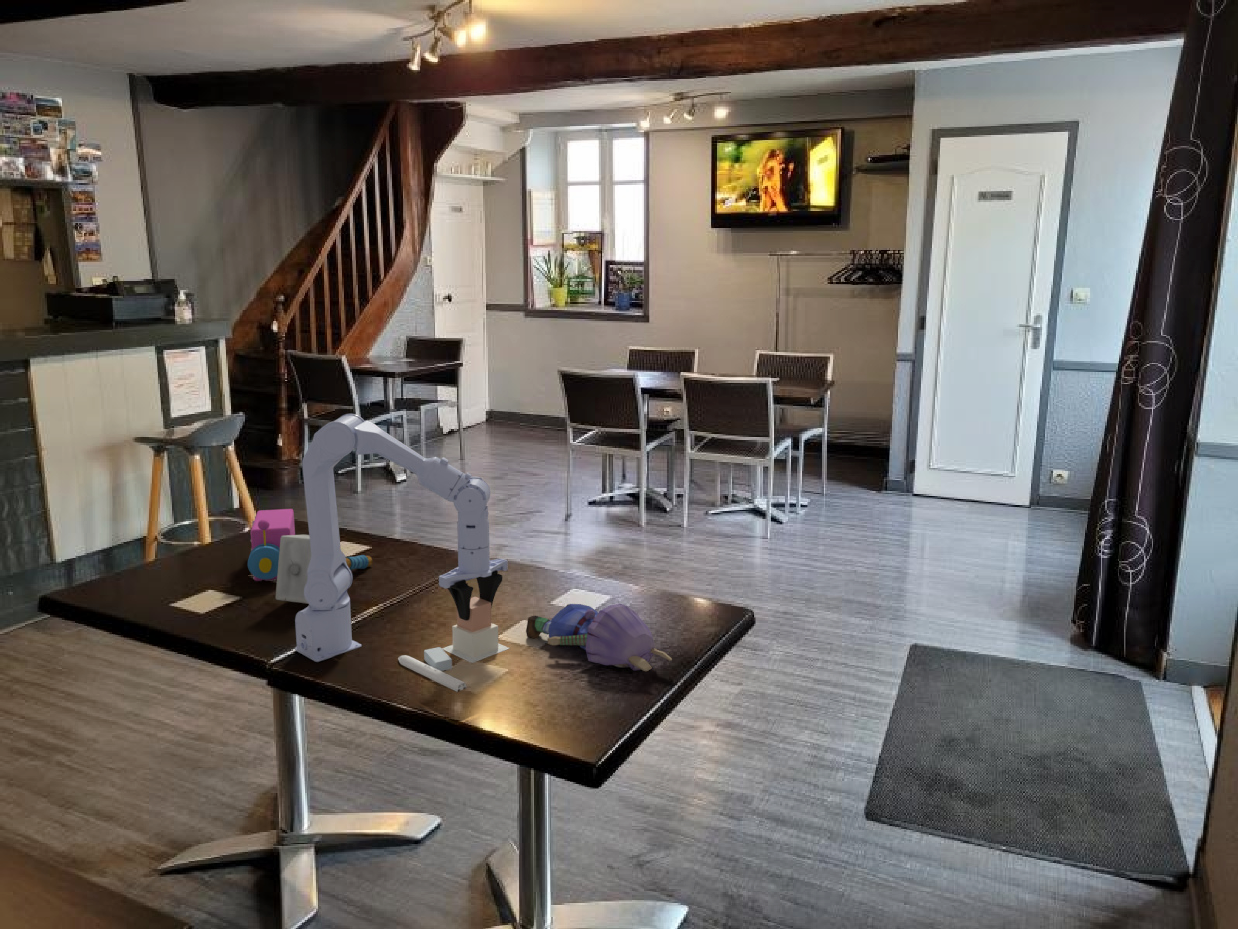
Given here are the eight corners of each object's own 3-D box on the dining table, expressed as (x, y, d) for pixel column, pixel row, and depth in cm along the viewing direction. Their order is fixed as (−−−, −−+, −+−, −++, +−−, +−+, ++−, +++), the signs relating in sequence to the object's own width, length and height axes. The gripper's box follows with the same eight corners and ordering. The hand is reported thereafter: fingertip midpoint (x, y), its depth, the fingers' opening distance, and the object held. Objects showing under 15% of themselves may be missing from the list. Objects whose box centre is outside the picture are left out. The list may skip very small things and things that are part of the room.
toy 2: (515, 651, 175) (625, 695, 153) (512, 597, 173) (623, 634, 151) (584, 627, 187) (695, 664, 165) (582, 576, 185) (694, 607, 164)
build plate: (471, 665, 165) (471, 662, 165) (441, 650, 171) (441, 648, 171) (509, 650, 171) (509, 648, 171) (479, 637, 177) (479, 635, 177)
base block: (473, 658, 167) (472, 634, 166) (452, 648, 171) (452, 626, 170) (498, 648, 171) (498, 625, 170) (477, 639, 175) (477, 617, 174)
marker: (394, 665, 165) (393, 652, 165) (403, 661, 167) (403, 649, 166) (457, 696, 154) (456, 683, 153) (467, 692, 155) (466, 679, 155)
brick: (452, 672, 162) (451, 659, 162) (435, 675, 161) (435, 662, 160) (440, 659, 167) (439, 647, 167) (424, 663, 166) (424, 650, 165)
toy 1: (259, 552, 227) (255, 494, 224) (297, 549, 229) (293, 492, 226) (248, 590, 201) (243, 524, 198) (291, 586, 204) (287, 521, 200)
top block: (472, 632, 167) (471, 608, 166) (457, 625, 170) (456, 602, 169) (491, 625, 170) (491, 602, 169) (476, 619, 173) (475, 596, 172)
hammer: (349, 587, 218) (272, 600, 189) (354, 531, 219) (278, 535, 190) (380, 591, 216) (307, 604, 187) (385, 534, 217) (313, 539, 188)
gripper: (455, 558, 159) (457, 631, 162) (518, 541, 169) (518, 610, 172) (430, 550, 163) (433, 621, 166) (493, 533, 174) (494, 600, 177)
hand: (475, 615), depth 170 cm, fingers closed on top block, 4 cm apart
